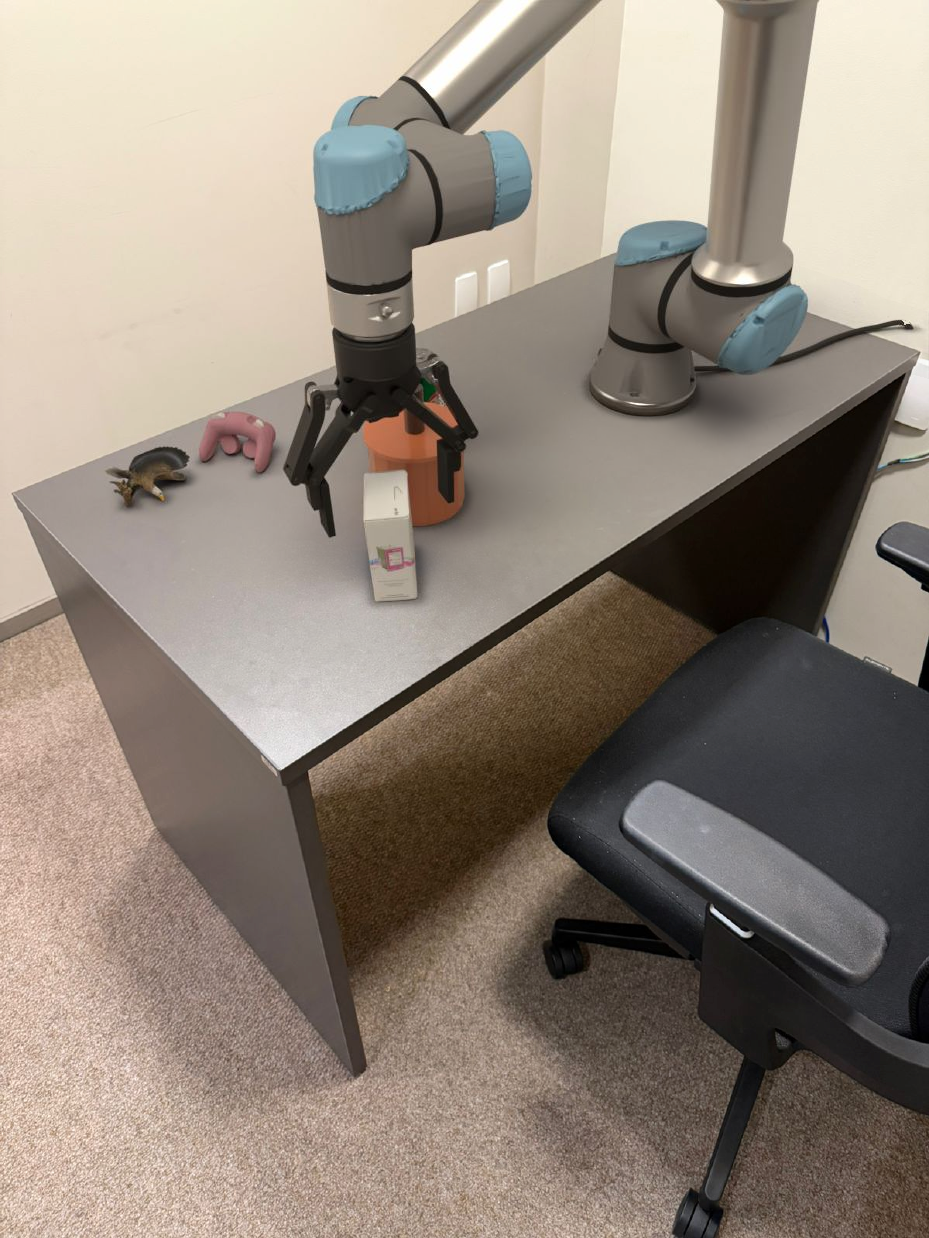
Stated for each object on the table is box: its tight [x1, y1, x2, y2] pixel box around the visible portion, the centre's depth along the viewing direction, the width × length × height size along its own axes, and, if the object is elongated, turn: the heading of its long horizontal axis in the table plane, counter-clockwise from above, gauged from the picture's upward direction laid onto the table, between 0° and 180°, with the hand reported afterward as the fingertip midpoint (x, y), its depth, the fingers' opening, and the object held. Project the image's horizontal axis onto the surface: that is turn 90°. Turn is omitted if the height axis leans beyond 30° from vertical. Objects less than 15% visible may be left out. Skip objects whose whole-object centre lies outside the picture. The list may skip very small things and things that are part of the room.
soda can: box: [416, 347, 440, 405], centre depth 115 cm, size 5×5×12 cm
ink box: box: [362, 470, 418, 603], centre depth 94 cm, size 9×5×12 cm, turn 5°
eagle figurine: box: [104, 445, 191, 507], centre depth 108 cm, size 8×7×9 cm
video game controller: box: [198, 411, 277, 473], centre depth 114 cm, size 10×5×7 cm, turn 71°
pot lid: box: [362, 384, 466, 463], centre depth 100 cm, size 12×12×7 cm
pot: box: [367, 448, 465, 527], centre depth 106 cm, size 11×11×10 cm
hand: (388, 512), depth 92 cm, fingers open, 13 cm apart
